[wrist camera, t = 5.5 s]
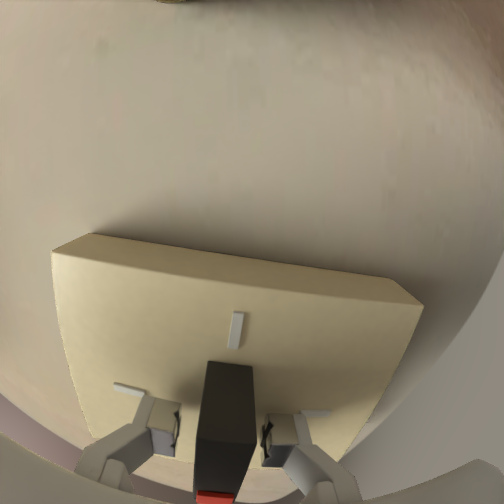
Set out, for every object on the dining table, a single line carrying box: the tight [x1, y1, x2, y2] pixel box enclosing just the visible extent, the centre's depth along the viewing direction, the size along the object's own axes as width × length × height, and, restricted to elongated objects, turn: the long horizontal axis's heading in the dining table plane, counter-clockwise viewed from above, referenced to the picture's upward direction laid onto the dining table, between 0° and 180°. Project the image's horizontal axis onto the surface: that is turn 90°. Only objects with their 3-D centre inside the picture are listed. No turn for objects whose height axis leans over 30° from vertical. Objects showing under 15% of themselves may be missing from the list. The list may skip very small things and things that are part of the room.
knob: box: [193, 361, 257, 504], centre depth 8 cm, size 5×2×4 cm, turn 170°
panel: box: [51, 233, 424, 470], centre depth 11 cm, size 14×11×3 cm
